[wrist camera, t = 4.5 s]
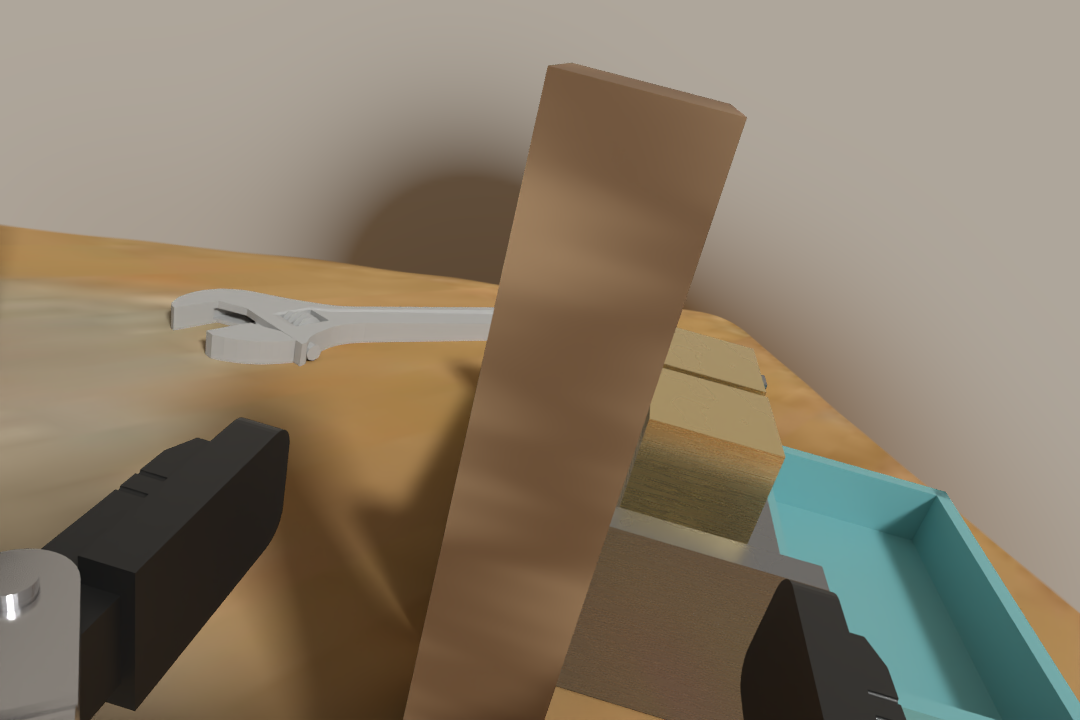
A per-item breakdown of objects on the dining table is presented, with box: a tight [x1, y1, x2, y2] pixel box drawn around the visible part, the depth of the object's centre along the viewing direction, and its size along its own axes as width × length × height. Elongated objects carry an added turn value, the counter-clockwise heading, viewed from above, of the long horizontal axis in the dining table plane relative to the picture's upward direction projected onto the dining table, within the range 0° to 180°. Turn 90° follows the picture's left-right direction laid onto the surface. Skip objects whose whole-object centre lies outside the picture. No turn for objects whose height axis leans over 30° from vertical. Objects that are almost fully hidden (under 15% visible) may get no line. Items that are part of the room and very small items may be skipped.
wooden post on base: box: [403, 63, 747, 720], centre depth 14 cm, size 3×9×17 cm, turn 171°
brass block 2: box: [616, 368, 785, 544], centre depth 24 cm, size 4×4×4 cm
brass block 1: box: [663, 328, 766, 396], centre depth 28 cm, size 4×4×4 cm
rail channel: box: [556, 375, 830, 720], centre depth 27 cm, size 10×14×6 cm
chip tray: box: [767, 446, 1080, 720], centre depth 27 cm, size 9×14×3 cm, turn 171°
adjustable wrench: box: [171, 289, 494, 366], centre depth 41 cm, size 25×6×2 cm, turn 116°
